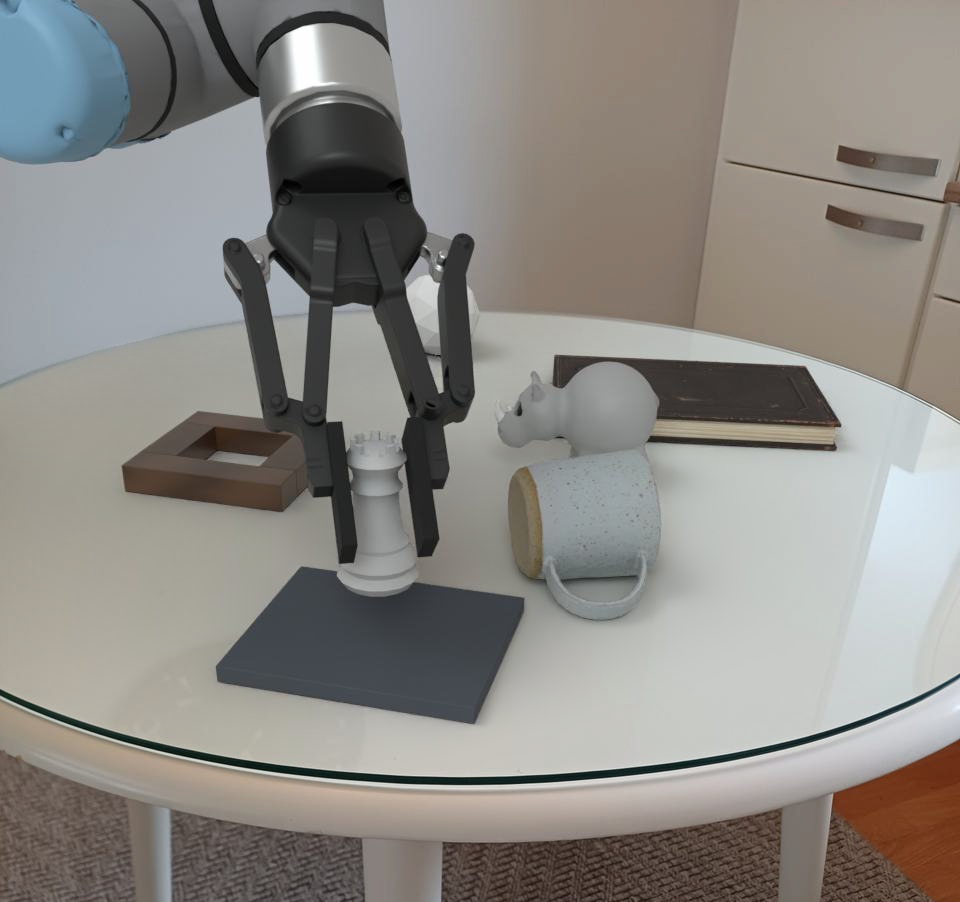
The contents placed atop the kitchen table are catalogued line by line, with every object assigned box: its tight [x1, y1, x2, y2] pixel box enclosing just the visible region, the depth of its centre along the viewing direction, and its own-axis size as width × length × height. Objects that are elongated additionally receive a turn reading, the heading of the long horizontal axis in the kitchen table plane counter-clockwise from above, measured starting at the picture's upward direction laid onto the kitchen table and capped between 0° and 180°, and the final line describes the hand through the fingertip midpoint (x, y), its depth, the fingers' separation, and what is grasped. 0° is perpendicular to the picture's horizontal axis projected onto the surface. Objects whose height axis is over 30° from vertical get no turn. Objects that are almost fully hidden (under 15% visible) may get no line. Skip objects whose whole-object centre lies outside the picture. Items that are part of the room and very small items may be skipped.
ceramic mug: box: [507, 449, 662, 621], centre depth 68 cm, size 11×8×8 cm
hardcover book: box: [552, 354, 842, 451], centre depth 97 cm, size 16×23×2 cm
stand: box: [121, 410, 308, 513], centre depth 83 cm, size 12×12×2 cm
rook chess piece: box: [336, 430, 420, 597], centre depth 59 cm, size 4×4×8 cm
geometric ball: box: [406, 273, 481, 356], centre depth 109 cm, size 8×8×8 cm
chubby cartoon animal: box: [493, 362, 659, 464], centre depth 83 cm, size 7×12×8 cm, turn 89°
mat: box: [215, 565, 525, 724], centre depth 63 cm, size 14×12×1 cm
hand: (388, 550), depth 56 cm, fingers closed on rook chess piece, 3 cm apart
